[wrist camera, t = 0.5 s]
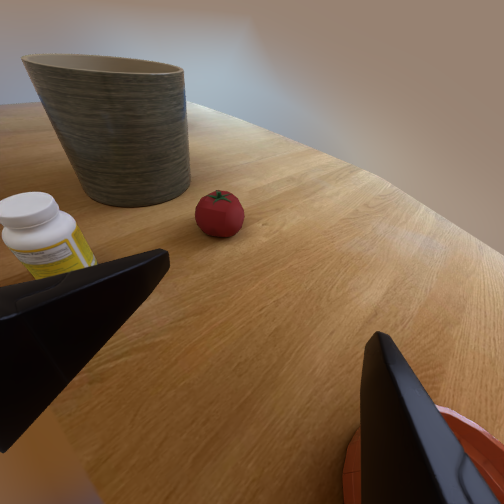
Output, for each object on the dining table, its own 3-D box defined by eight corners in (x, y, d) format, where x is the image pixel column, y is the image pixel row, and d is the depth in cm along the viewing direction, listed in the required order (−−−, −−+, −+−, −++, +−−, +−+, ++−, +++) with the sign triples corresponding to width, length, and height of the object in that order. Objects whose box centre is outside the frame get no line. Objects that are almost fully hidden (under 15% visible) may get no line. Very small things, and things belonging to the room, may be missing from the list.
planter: (211, 176, 55) (208, 70, 41) (143, 222, 39) (103, 77, 26) (139, 154, 60) (115, 54, 46) (54, 187, 45) (-19, 51, 31)
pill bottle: (70, 256, 32) (24, 183, 25) (110, 265, 32) (77, 193, 24) (30, 290, 27) (-41, 214, 20) (77, 301, 27) (23, 227, 20)
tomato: (189, 236, 38) (185, 197, 33) (210, 212, 43) (209, 176, 39) (234, 249, 36) (236, 211, 31) (249, 223, 42) (253, 187, 37)
